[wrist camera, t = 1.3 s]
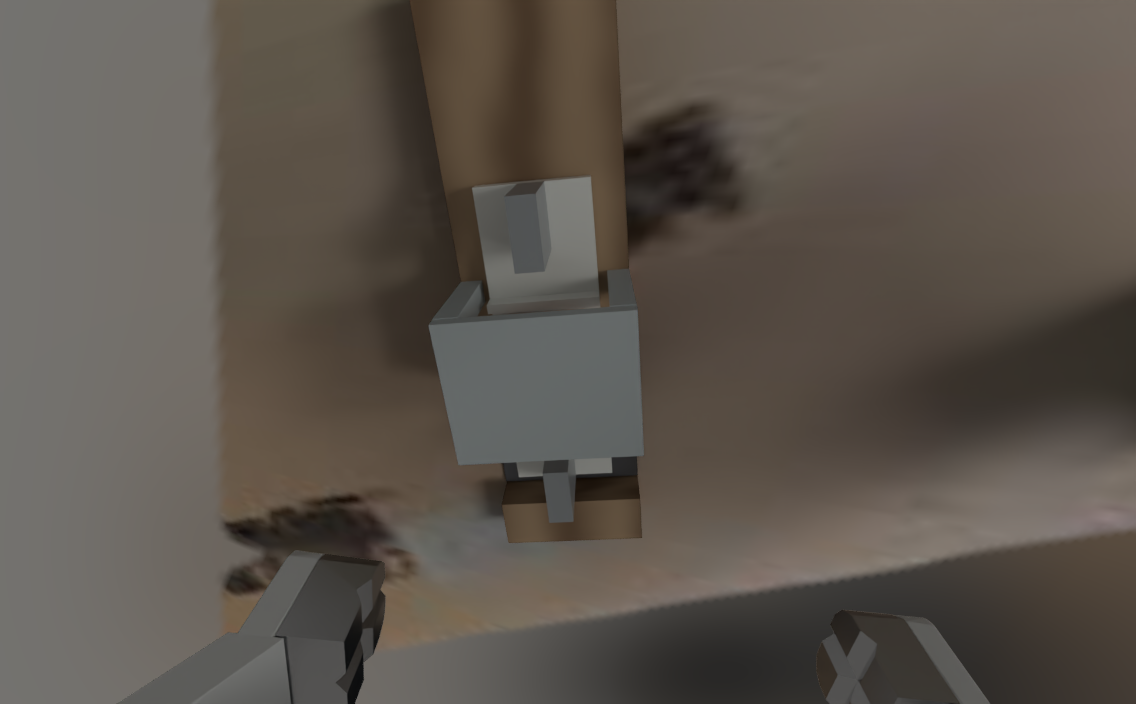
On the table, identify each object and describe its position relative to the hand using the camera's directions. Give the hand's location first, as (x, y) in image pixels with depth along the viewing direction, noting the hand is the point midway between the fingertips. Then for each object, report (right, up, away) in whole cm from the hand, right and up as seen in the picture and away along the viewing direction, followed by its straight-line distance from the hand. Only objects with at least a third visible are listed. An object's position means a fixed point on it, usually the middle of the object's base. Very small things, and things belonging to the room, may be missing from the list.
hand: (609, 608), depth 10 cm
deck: (-2, +8, +29) cm, 30 cm away
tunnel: (-2, +6, +27) cm, 28 cm away
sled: (-2, +5, +27) cm, 27 cm away
